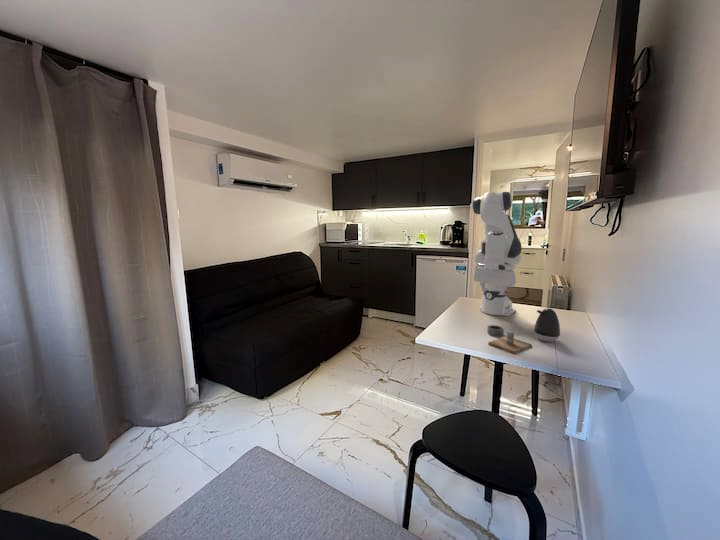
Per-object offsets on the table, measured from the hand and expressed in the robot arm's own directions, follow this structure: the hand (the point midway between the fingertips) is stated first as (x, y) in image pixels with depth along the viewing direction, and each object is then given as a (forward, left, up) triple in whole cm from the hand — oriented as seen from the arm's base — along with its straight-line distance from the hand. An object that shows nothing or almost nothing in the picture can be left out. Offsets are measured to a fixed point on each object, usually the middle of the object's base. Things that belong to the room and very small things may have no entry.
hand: (492, 293), depth 144 cm
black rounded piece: (-12, +20, -20) cm, 31 cm away
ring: (0, +2, -20) cm, 20 cm away
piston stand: (+8, +14, -20) cm, 26 cm away
